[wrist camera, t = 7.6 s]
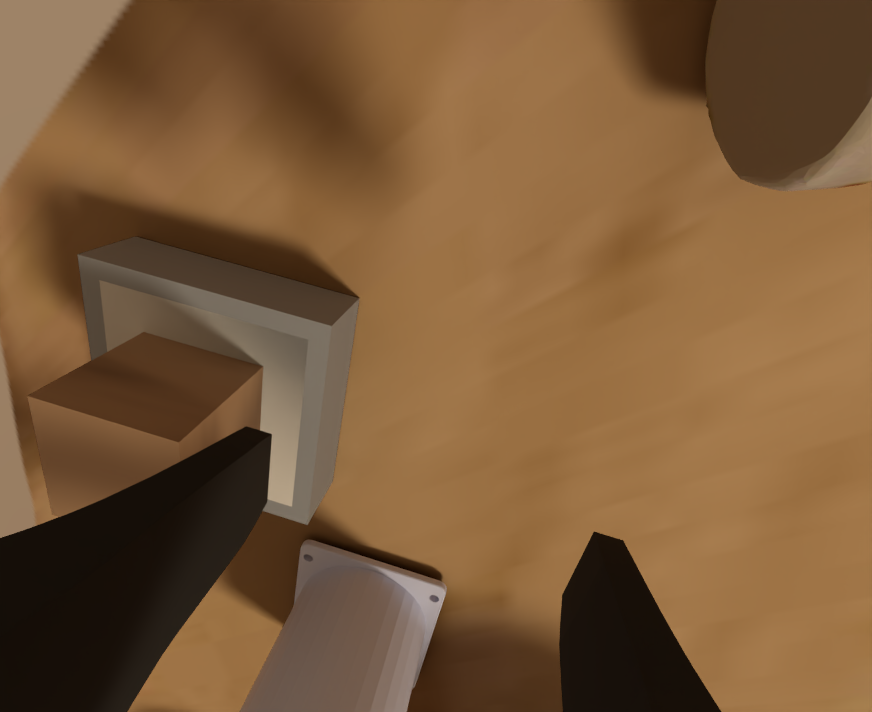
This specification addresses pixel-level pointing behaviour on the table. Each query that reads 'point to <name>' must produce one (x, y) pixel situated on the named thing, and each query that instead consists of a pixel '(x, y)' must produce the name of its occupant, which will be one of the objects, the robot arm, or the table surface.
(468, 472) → the table surface
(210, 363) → the walnut cube
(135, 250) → the grey plinth
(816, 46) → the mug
